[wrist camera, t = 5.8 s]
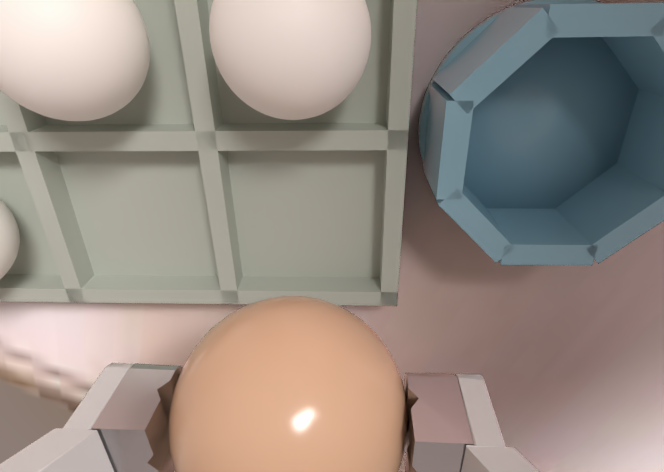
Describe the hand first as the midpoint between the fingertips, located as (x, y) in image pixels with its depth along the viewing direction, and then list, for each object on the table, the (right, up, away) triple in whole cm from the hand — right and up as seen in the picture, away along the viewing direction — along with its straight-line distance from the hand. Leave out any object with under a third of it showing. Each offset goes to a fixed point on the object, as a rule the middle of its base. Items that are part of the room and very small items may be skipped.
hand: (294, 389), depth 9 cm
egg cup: (+8, +7, +7) cm, 13 cm away
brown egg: (0, +1, +2) cm, 2 cm away
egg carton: (-7, +7, +8) cm, 13 cm away
